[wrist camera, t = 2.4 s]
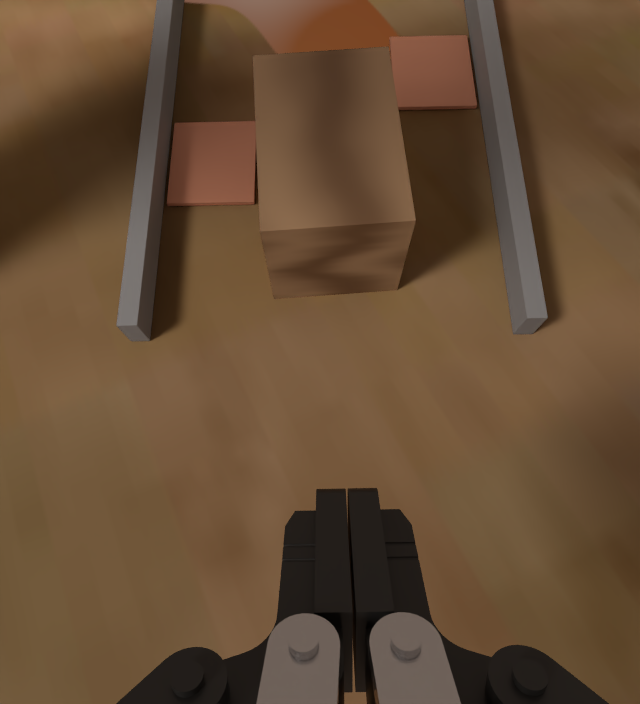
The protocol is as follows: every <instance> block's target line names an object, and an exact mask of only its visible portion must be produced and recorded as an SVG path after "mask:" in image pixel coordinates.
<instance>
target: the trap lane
mask: <svg viewBox="0 0 640 704" xmlns="http://www.w3.org/2000/svg"><path fill="white" fill-rule="evenodd" d="M464 2H465V9H466V16H467V22H468V29H469V36H470V43H471V50H472V56H473V63H474V70H475V77H476V84H477V90H478V97H479V104H480V111H481V118H482V124H483V131H484V138H485V145H486V152H487V158H488V165H489V172H490V179H491V186H492V192H493V199H494V206H495V213H496V220H497V226H498V233H499V240H500V247H501V254H502V260H503V267H504V274H505V281H506V288H507V294H508V301H509V308H510V315H511V322H512V328H513V334H533V333H534V332H535V331H536V330H537V329H538V328H539V327H540V326H541V325H542V323H543V322H544V321H545V320H546V319H547V318H548V316H547V310H546V304H545V299H544V293H543V287H542V281H541V275H540V270H539V264H538V258H537V252H536V246H535V241H534V235H533V229H532V223H531V217H530V212H529V206H528V200H527V194H526V188H525V183H524V177H523V171H522V165H521V159H520V154H519V148H518V142H517V136H516V130H515V125H514V119H513V113H512V107H511V101H510V96H509V90H508V84H507V78H506V72H505V67H504V61H503V55H502V49H501V44H500V38H499V32H498V26H497V20H496V15H495V9H494V3H493V0H464ZM183 8H184V0H157V5H156V13H155V21H154V29H153V37H152V45H151V53H150V61H149V69H148V77H147V85H146V93H145V101H144V109H143V117H142V125H141V133H140V141H139V149H138V157H137V165H136V173H135V181H134V189H133V197H132V205H131V213H130V221H129V229H128V237H127V245H126V253H125V261H124V269H123V277H122V285H121V293H120V302H119V310H118V318H117V327H118V328H119V329H120V330H121V331H122V332H123V333H124V334H125V335H126V336H127V337H128V338H129V340H130V341H150V337H151V327H152V317H153V307H154V297H155V287H156V277H157V267H158V257H159V247H160V237H161V227H162V217H163V207H164V197H165V187H166V177H167V167H168V157H169V147H170V138H171V128H172V118H173V108H174V98H175V88H176V78H177V68H178V58H179V48H180V38H181V28H182V18H183ZM389 41H390V53H391V66H392V72H393V78H394V85H395V91H396V97H397V104H398V110H433V109H476V107H477V101H476V94H475V87H474V80H473V73H472V67H471V60H470V53H469V46H468V39H467V35H449V36H405V37H390V40H389ZM255 172H256V126H255V121H231V122H184V123H175V124H174V134H173V145H172V155H171V165H170V175H169V185H168V195H167V205H168V206H201V205H250V204H254V202H255Z"/></svg>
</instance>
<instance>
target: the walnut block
mask: <svg viewBox="0 0 640 704" xmlns="http://www.w3.org/2000/svg"><path fill="white" fill-rule="evenodd" d="M253 77H254V102H255V126H256V150H257V175H258V199H259V223H260V235H261V239H262V244H263V249H264V254H265V258H266V263H267V268H268V273H269V277H270V282H271V287H272V291H273V296H274V299H280V298H294V297H308V296H322V295H335V294H349V293H363V292H377V291H390V290H397V289H398V285H399V282H400V278H401V274H402V271H403V267H404V263H405V259H406V256H407V252H408V248H409V245H410V241H411V237H412V233H413V230H414V226H415V222H416V218H415V211H414V205H413V199H412V192H411V186H410V180H409V173H408V167H407V161H406V154H405V148H404V142H403V135H402V129H401V123H400V116H399V110H398V104H397V97H396V91H395V85H394V78H393V72H392V66H391V59H390V53H389V47H374V48H361V49H360V48H359V49H344V50H329V51H314V52H299V53H285V54H268V55H253Z"/></svg>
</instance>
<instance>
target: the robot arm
mask: <svg viewBox="0 0 640 704" xmlns="http://www.w3.org/2000/svg"><path fill="white" fill-rule="evenodd" d="M352 640H353V653H354V672H355V690H356V692H366V697H367V704H609V703H607V702H606V701H605V700H604V699H602V698H601V697H600V696H598V695H597V694H596V693H595V692H593V691H592V690H591V689H590V688H588V687H587V686H586V685H585V684H583V683H582V682H581V681H579V680H578V679H577V678H576V677H574V676H573V675H572V674H571V673H569V672H568V671H567V670H566V669H564V668H563V667H562V666H560V665H559V664H558V663H557V662H555V661H554V660H553V659H552V658H550V657H549V656H547V655H546V654H545V653H543V652H541V651H539V650H537V649H534V648H532V647H528V646H522V645H511V646H507V647H504V648H502V649H500V650H498V651H497V652H496V653H495V654H494V655H493V656H492V657H489V656H486V655H482V654H479V653H475V652H472V651H469V650H466V649H463V648H461V647H459V646H457V645H455V644H453V643H452V642H450V641H449V640H447V639H446V638H445V637H444V636H443V635H442V634H441V633H440V632H439V631H438V629H437V628H436V626H435V625H434V623H433V621H432V618H431V615H430V611H429V606H428V601H427V597H426V592H425V587H424V582H423V578H422V573H421V568H420V563H419V560H418V554H417V549H416V545H415V539H414V534H413V530H412V525H411V523H410V522H409V521H408V519H407V518H406V517H405V516H404V514H403V513H402V512H401V510H400V509H386V510H380V504H379V497H378V490H377V488H350V489H348V524H347V506H346V490H345V489H317V490H316V511H295V512H294V514H293V515H292V517H291V518H290V520H289V521H288V523H287V525H286V526H285V535H284V547H283V558H282V569H281V580H280V591H279V602H278V613H277V620H276V623H275V626H274V628H273V630H272V632H271V633H270V635H269V636H268V637H267V638H266V639H265V640H264V641H263V642H262V643H261V644H260V645H258V646H257V647H255V648H254V649H252V650H250V651H247V652H245V653H242V654H239V655H236V656H233V657H230V658H227V659H224V660H222V658H221V657H220V656H219V655H218V654H217V653H215V652H214V651H212V650H210V649H207V648H203V647H192V648H186V649H183V650H180V651H178V652H176V653H174V654H172V655H171V656H169V657H168V658H167V659H165V660H164V661H163V662H162V663H161V664H160V665H159V666H158V667H156V668H155V669H154V670H153V671H152V672H151V673H150V674H149V675H148V676H146V677H145V678H144V679H143V680H142V681H141V682H140V683H139V684H138V685H137V686H135V687H134V688H133V689H132V690H131V691H130V692H129V693H128V694H127V695H125V696H124V697H123V698H122V699H121V700H120V701H119V702H118V703H117V704H344V692H352Z"/></svg>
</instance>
